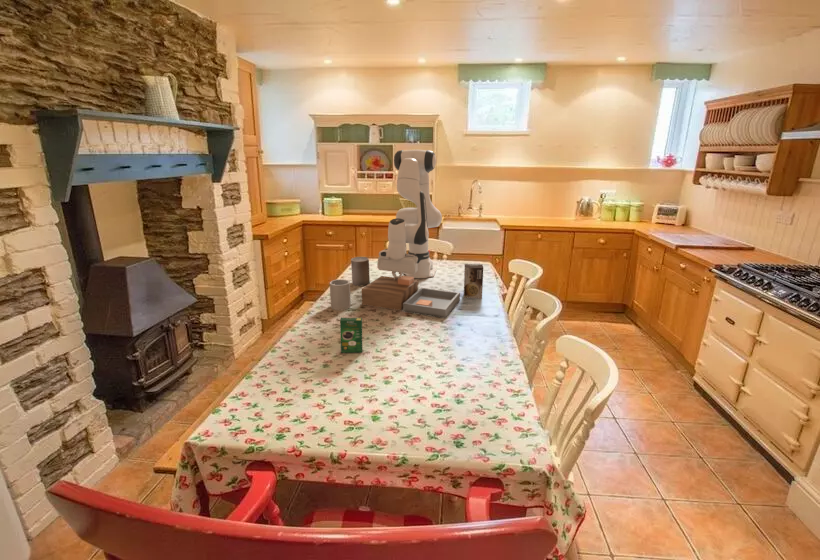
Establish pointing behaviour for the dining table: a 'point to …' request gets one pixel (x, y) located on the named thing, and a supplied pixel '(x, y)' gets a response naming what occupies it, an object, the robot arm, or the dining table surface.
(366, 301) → the brown wooden block
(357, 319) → the coffee box
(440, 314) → the box
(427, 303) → the terracotta tile
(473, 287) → the coffee box
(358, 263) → the pillar candle
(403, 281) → the terracotta tile
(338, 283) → the cup
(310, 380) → the dining table surface
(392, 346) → the dining table surface
